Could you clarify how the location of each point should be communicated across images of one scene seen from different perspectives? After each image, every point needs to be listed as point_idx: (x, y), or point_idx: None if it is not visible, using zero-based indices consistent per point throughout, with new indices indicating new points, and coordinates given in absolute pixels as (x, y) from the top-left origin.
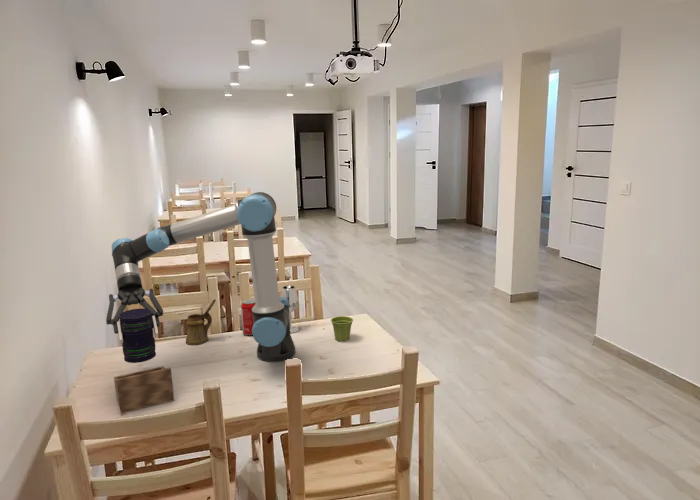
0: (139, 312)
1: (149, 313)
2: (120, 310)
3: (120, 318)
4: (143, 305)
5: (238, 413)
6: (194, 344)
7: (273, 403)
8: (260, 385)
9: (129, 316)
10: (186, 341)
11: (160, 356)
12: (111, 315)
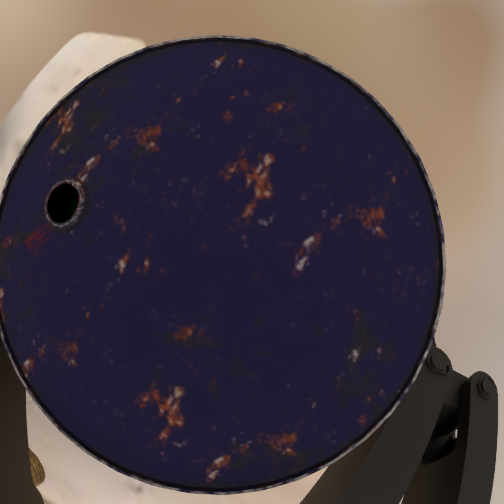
0: (118, 280)
1: (59, 122)
2: (367, 488)
3: (432, 258)
4: (7, 443)
5: (133, 44)
6: (29, 450)
7: (74, 46)
8: (32, 118)
9: (329, 191)
10: (41, 475)
11: (112, 470)
12: (441, 460)
